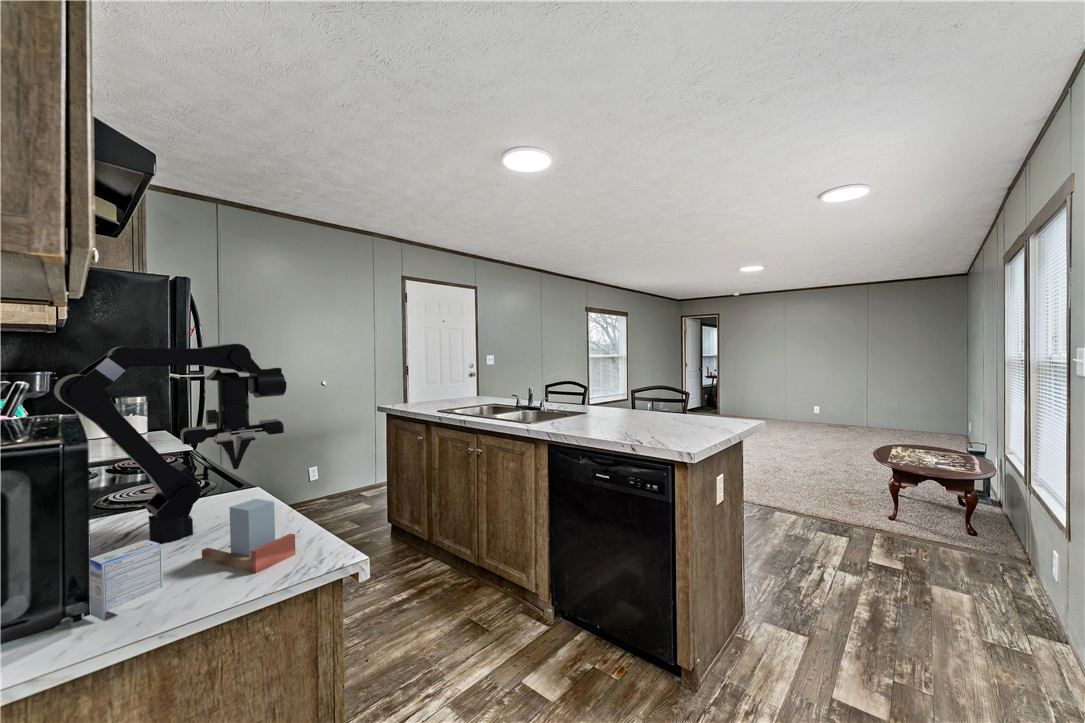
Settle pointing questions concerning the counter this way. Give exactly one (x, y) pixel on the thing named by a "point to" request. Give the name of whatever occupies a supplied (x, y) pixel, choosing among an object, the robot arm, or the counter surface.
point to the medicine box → (124, 576)
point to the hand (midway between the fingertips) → (235, 469)
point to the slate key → (251, 526)
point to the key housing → (255, 555)
